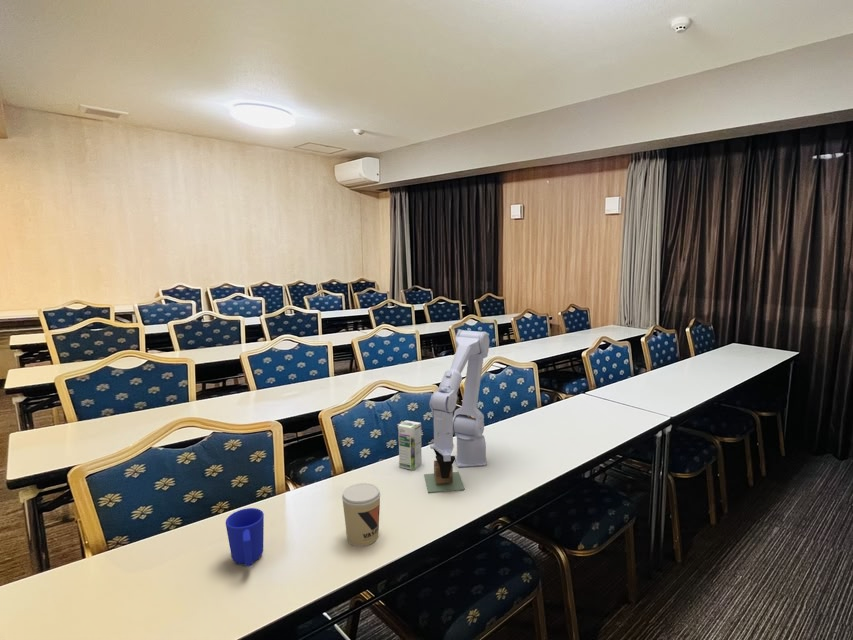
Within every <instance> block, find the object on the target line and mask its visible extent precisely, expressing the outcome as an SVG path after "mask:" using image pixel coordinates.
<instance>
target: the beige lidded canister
mask: <svg viewBox="0 0 853 640" xmlns="http://www.w3.org/2000/svg"><path fill="white" fill-rule="evenodd" d="M380 498H381V491H380V489H379V487H378V486H377V485H375V484H372V483H367V482H359V483H355V484H351V485H349V486H348V487H346V488H345V489H344V490H343V492H342V494H341V500H342V507H343V515H344V522H345V524H344V525H345V530H346V538H347V542H348V543H349V544H351V545H352V546H355V547H366V546H369V545H372V544H374V543H375V542H376V541H377V540H378V538H379V534H380V533H379V531H380V507H381V505H380V504H381V499H380Z"/></svg>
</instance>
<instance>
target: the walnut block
mask: <svg viewBox="0 0 853 640" xmlns="http://www.w3.org/2000/svg"><path fill="white" fill-rule="evenodd" d="M453 472H454V469H453V466H452V467H451V471H450V476H449V478H444V479H442V477H441V472H440V467H439V464H438V462H437V460H436V459H435V460H433V474H434V477H435V481H436V484H440V483H453Z"/></svg>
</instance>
